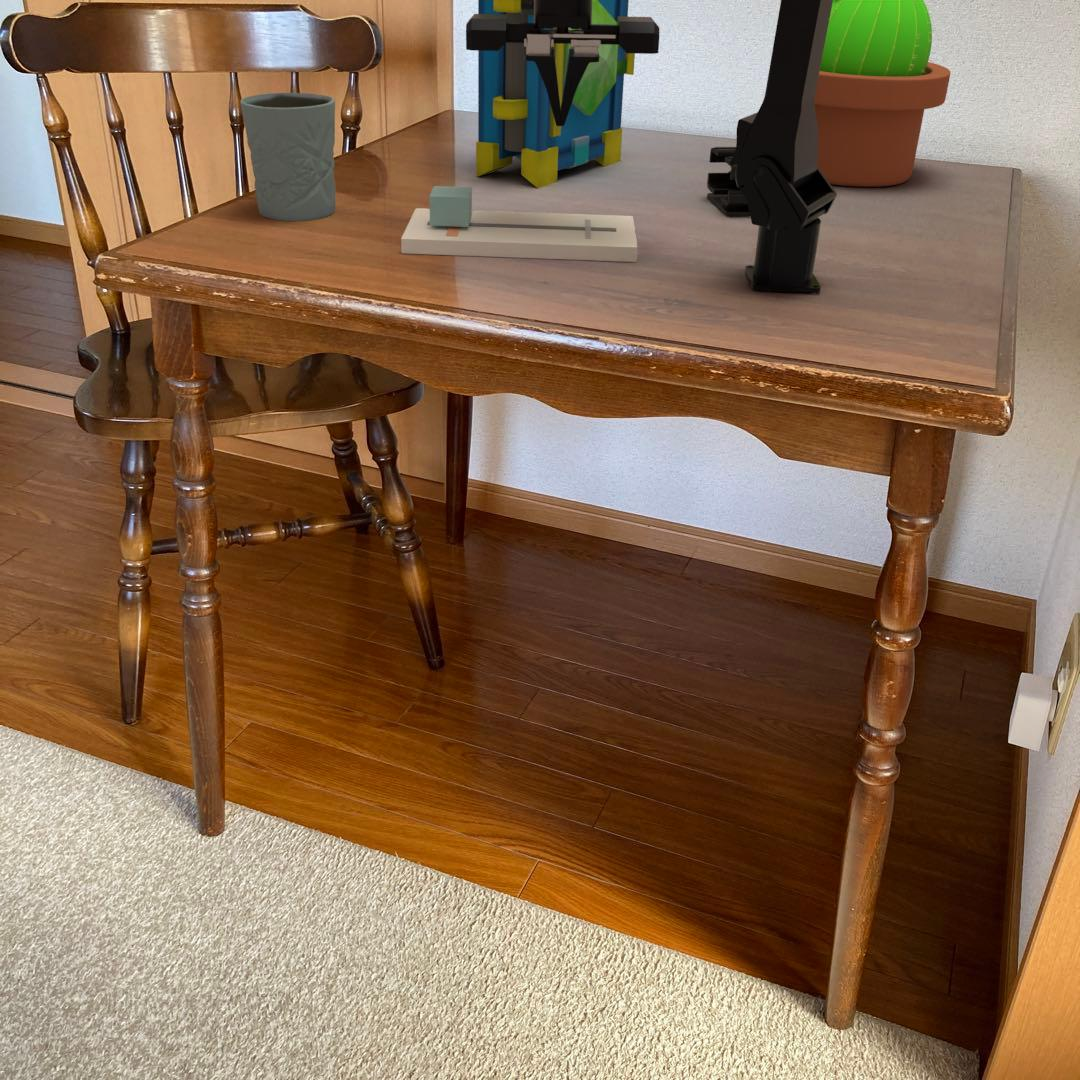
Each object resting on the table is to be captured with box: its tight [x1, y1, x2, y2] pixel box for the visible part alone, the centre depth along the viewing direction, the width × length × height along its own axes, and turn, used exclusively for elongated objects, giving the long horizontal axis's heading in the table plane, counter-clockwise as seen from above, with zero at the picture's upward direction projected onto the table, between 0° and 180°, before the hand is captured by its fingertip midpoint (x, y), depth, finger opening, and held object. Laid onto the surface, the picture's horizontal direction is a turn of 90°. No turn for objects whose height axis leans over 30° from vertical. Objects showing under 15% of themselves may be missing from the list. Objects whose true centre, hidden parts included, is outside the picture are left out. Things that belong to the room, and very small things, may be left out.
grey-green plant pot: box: [240, 92, 336, 222], centre depth 125 cm, size 10×10×12 cm
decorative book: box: [475, 0, 636, 189], centre depth 142 cm, size 14×23×30 cm, turn 146°
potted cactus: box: [814, 0, 951, 188], centre depth 146 cm, size 22×22×25 cm
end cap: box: [706, 146, 751, 218], centre depth 134 cm, size 10×7×7 cm
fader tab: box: [428, 185, 473, 227], centre depth 119 cm, size 4×4×3 cm
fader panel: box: [400, 207, 639, 263], centre depth 120 cm, size 12×24×2 cm, turn 88°
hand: (560, 125), depth 116 cm, fingers closed
